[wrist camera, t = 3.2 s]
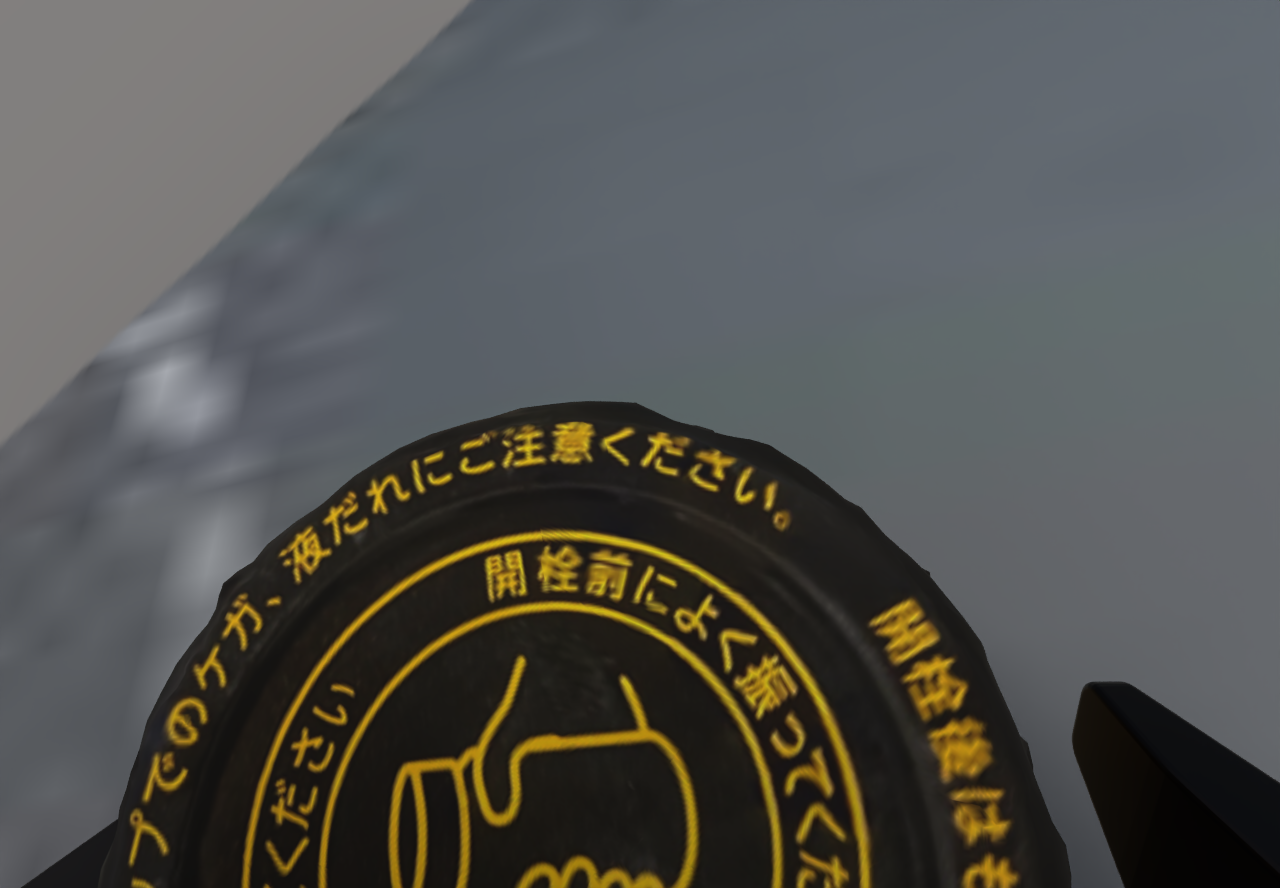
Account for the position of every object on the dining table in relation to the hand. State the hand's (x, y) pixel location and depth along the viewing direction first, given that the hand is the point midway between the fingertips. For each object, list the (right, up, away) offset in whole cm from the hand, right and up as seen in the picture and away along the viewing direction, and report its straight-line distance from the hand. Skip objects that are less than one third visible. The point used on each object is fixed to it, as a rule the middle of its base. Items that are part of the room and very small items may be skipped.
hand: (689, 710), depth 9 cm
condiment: (+1, -4, +6) cm, 7 cm away
